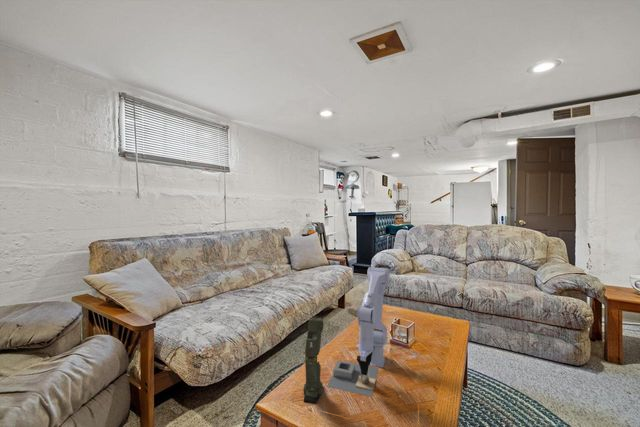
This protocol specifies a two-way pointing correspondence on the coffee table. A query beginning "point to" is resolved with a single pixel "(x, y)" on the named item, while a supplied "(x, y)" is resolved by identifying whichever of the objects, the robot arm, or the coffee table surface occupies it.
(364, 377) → the gold capped metal cylinder
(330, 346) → the coffee table surface
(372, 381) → the cork pad
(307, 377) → the mechanical leg
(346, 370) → the block
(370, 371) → the mat
